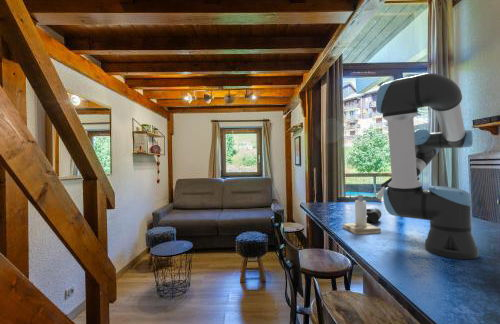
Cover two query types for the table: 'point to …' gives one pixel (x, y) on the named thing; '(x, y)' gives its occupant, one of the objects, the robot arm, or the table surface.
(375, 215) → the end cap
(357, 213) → the white bottle
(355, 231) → the oak board
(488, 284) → the table surface
